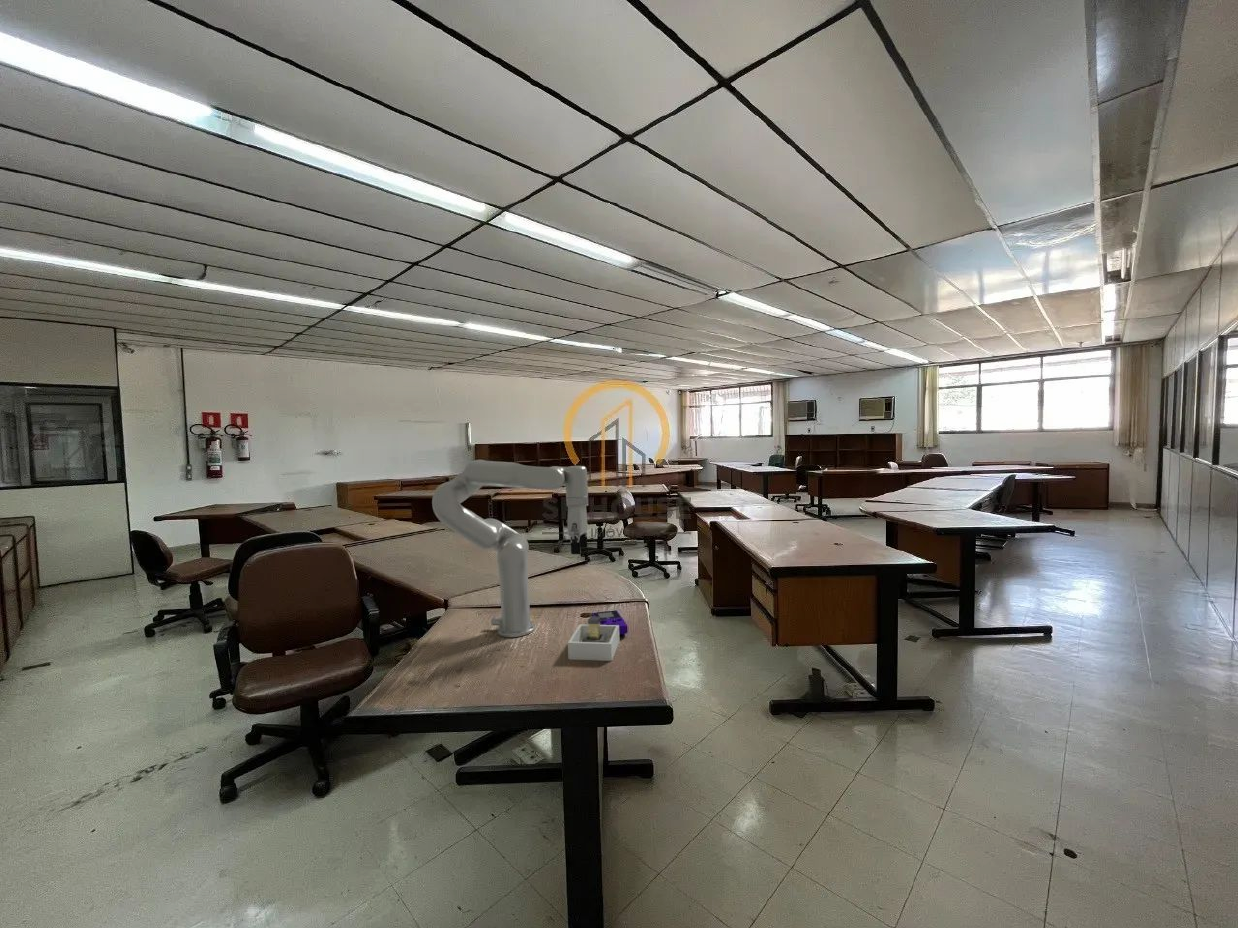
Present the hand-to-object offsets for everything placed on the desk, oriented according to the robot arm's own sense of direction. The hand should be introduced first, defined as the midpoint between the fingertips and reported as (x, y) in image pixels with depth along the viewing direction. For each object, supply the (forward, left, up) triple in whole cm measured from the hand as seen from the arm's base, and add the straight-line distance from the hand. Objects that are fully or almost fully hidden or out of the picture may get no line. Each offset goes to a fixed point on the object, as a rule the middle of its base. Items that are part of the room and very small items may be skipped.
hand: (579, 550), depth 164 cm
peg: (+9, -19, -25) cm, 33 cm away
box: (+8, -19, -26) cm, 34 cm away
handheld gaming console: (+10, -4, -26) cm, 29 cm away
